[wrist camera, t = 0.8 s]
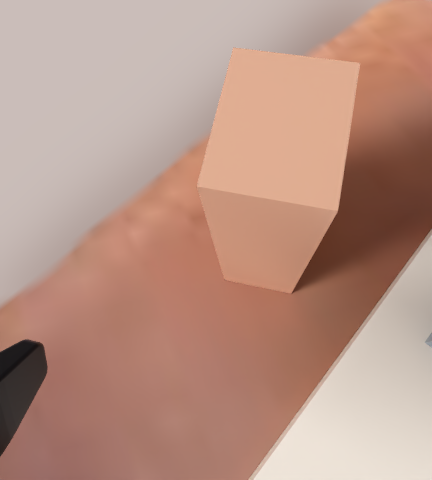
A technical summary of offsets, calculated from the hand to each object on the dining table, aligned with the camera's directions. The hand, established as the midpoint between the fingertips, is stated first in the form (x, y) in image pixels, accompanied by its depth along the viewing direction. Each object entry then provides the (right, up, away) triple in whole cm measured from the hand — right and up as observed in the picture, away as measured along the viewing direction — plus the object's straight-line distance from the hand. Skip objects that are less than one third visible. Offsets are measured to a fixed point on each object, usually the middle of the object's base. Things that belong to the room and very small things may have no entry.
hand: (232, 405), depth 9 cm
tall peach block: (+3, +3, +16) cm, 16 cm away
